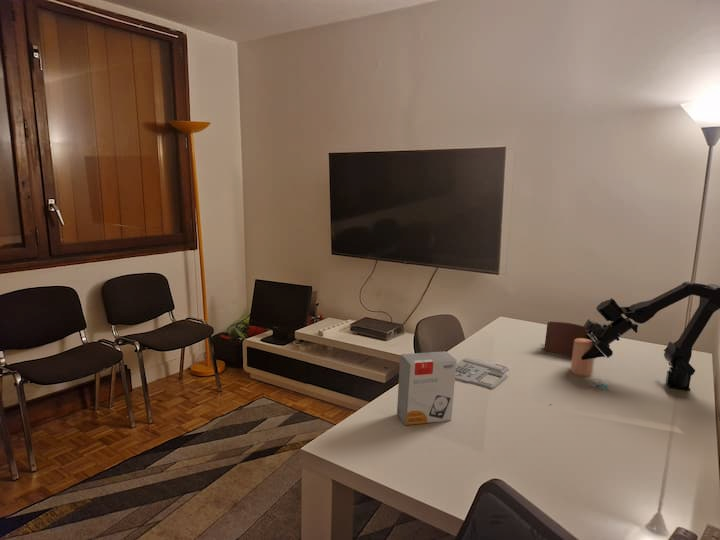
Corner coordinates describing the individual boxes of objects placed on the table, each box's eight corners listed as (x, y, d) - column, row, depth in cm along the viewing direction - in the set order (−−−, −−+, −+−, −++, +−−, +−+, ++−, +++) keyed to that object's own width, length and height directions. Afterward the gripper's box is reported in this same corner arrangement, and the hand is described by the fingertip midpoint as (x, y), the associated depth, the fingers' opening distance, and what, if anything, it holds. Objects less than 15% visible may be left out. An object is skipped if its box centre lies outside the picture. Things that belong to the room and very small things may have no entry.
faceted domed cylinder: (594, 372, 181) (598, 341, 179) (587, 378, 176) (592, 346, 173) (574, 367, 186) (578, 336, 184) (567, 372, 181) (571, 341, 178)
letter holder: (593, 361, 196) (598, 329, 193) (543, 350, 206) (547, 319, 203) (597, 354, 204) (601, 323, 201) (548, 344, 214) (552, 314, 212)
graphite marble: (596, 388, 169) (597, 381, 169) (597, 392, 167) (598, 384, 166) (587, 387, 171) (588, 379, 170) (588, 390, 168) (589, 382, 167)
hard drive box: (404, 426, 140) (408, 363, 136) (396, 414, 148) (398, 353, 144) (452, 420, 145) (457, 359, 141) (441, 408, 152) (445, 349, 148)
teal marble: (606, 390, 168) (607, 382, 168) (607, 394, 166) (608, 386, 165) (597, 388, 169) (598, 381, 169) (598, 392, 167) (599, 384, 166)
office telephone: (467, 353, 195) (515, 365, 184) (467, 359, 196) (515, 372, 184) (441, 370, 177) (492, 385, 165) (440, 376, 178) (492, 392, 166)
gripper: (594, 307, 184) (560, 331, 189) (606, 321, 166) (569, 347, 171) (613, 328, 184) (579, 352, 189) (628, 344, 166) (590, 370, 171)
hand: (579, 355), depth 180 cm, fingers open, 8 cm apart
